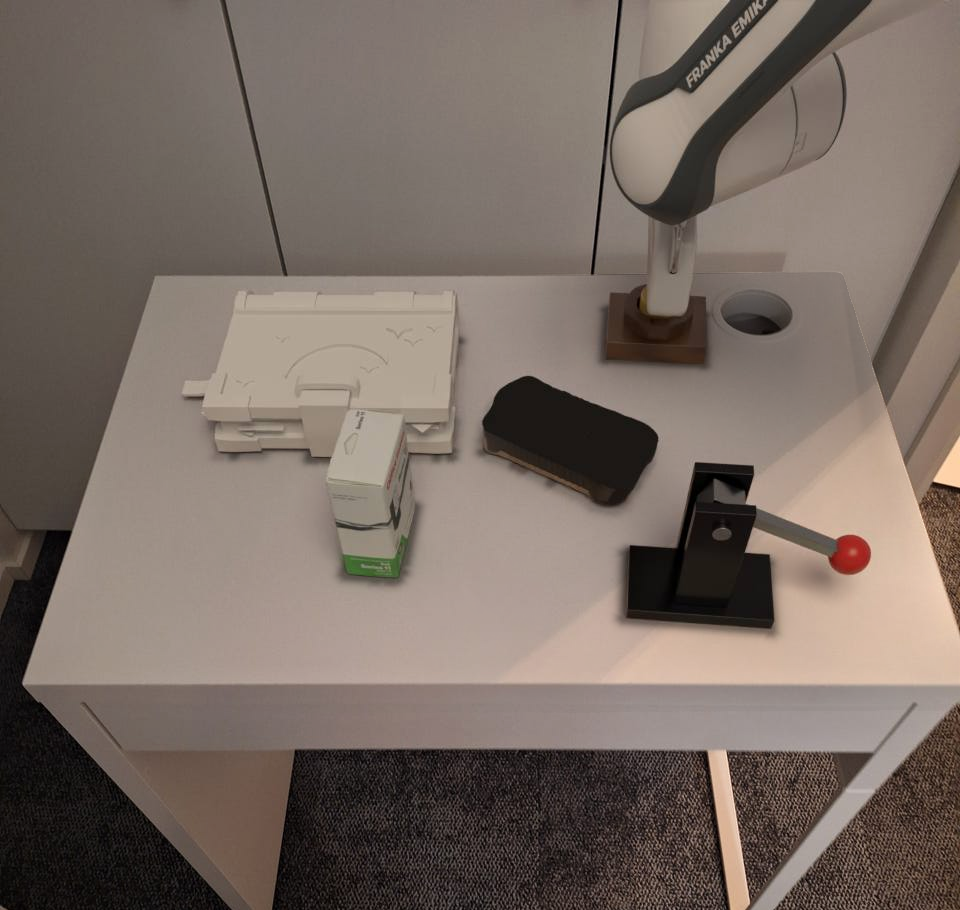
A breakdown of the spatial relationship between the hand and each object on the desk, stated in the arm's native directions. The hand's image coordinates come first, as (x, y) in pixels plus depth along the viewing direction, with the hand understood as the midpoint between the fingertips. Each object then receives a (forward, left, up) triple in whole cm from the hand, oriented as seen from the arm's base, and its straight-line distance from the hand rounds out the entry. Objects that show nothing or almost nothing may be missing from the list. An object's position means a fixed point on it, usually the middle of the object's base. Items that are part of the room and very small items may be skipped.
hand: (659, 294), depth 95 cm
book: (+33, +11, -5) cm, 35 cm away
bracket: (-4, +33, -5) cm, 33 cm away
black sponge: (+8, +18, -5) cm, 20 cm away
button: (0, 0, -2) cm, 2 cm away
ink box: (+24, +30, -5) cm, 38 cm away
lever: (-9, +33, +2) cm, 34 cm away
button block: (0, 0, -5) cm, 5 cm away
